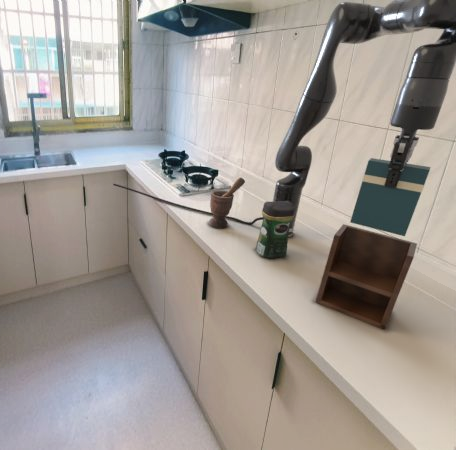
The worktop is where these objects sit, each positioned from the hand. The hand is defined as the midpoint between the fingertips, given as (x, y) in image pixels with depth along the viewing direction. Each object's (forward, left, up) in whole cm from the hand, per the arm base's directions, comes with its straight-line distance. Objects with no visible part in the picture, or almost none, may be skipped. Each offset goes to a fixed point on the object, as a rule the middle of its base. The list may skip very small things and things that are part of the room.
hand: (391, 185), depth 75 cm
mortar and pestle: (-52, +24, -34) cm, 66 cm away
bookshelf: (0, +1, -33) cm, 34 cm away
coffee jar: (-28, +14, -34) cm, 46 cm away
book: (0, 0, -10) cm, 10 cm away
